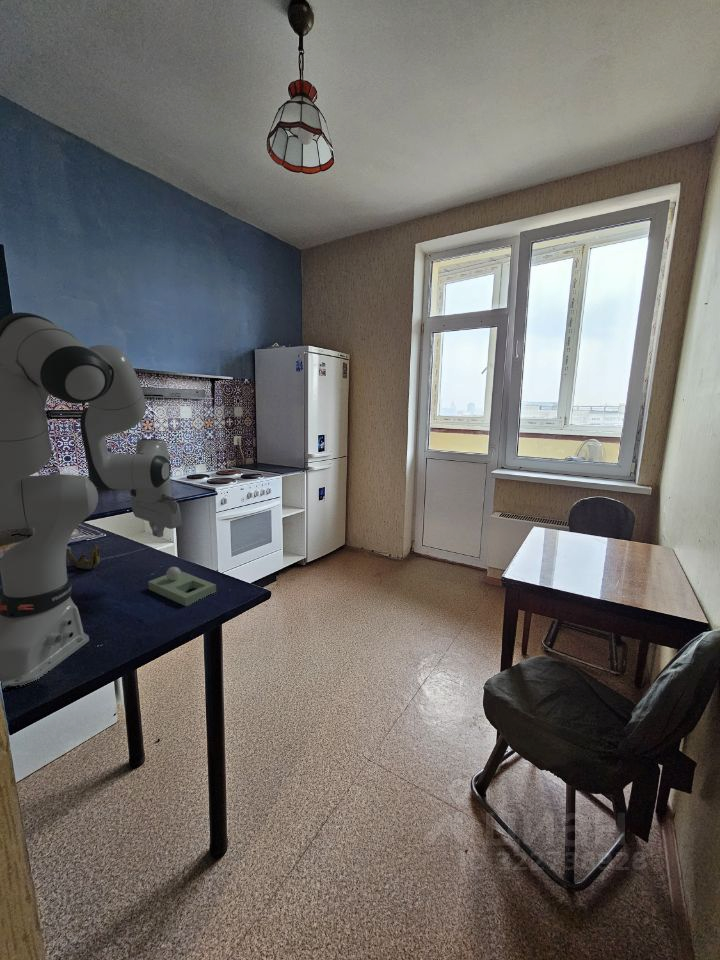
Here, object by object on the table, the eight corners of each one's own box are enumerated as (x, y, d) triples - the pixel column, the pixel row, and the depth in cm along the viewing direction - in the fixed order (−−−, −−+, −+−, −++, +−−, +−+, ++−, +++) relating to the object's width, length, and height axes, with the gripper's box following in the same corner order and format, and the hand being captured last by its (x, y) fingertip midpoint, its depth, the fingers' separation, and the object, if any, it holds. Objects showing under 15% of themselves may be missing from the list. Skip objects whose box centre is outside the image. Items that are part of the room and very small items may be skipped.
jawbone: (80, 564, 120) (73, 534, 123) (69, 578, 129) (63, 550, 132) (113, 557, 127) (106, 529, 130) (102, 571, 136) (95, 545, 139)
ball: (178, 582, 115) (177, 569, 115) (164, 582, 115) (163, 570, 114) (182, 576, 119) (182, 564, 119) (169, 576, 119) (168, 564, 118)
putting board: (216, 592, 115) (215, 584, 115) (186, 606, 107) (185, 598, 106) (179, 577, 124) (178, 570, 124) (148, 589, 116) (148, 581, 116)
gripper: (185, 496, 113) (188, 540, 116) (146, 485, 124) (149, 526, 127) (165, 500, 108) (168, 546, 111) (126, 488, 118) (129, 531, 121)
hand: (158, 536), depth 119 cm, fingers closed
